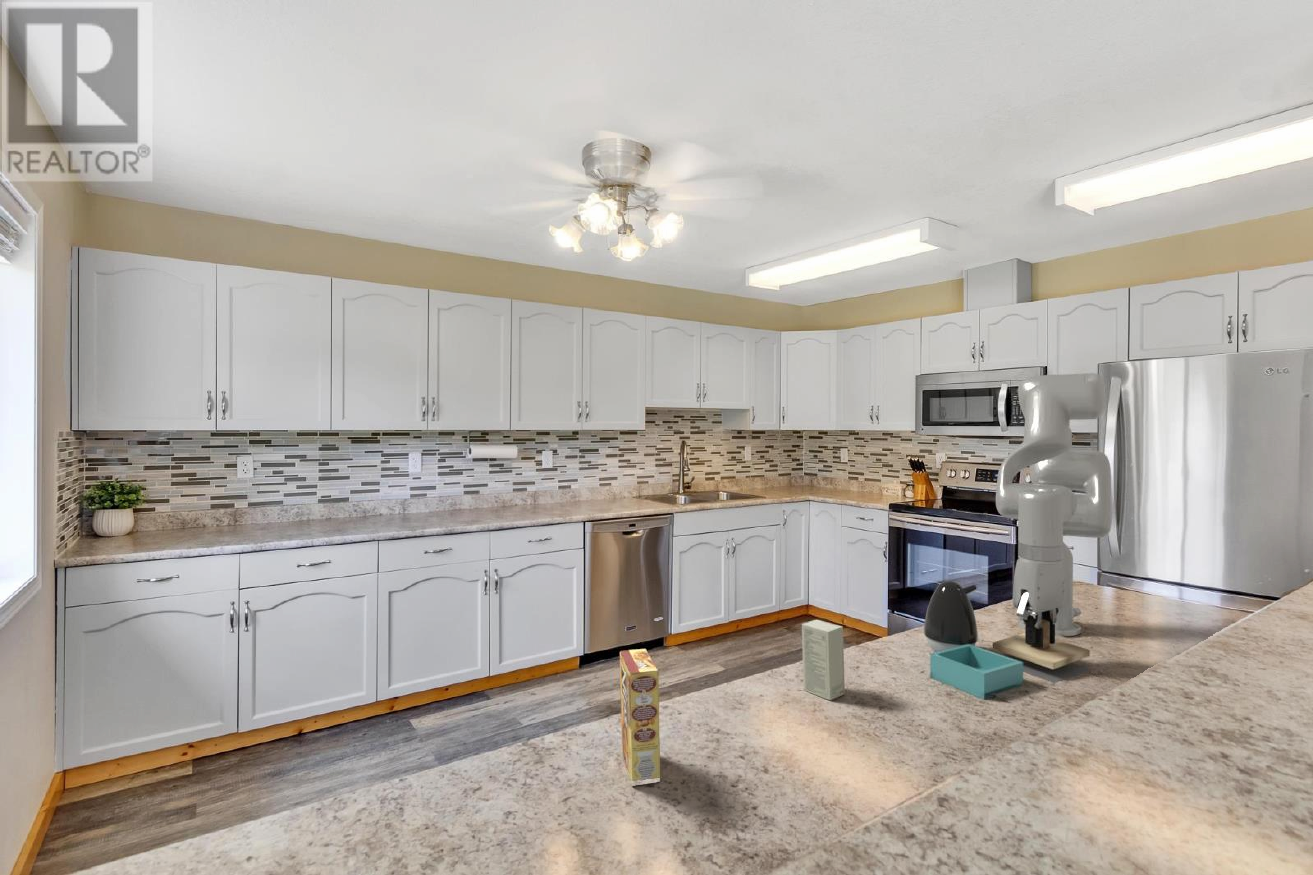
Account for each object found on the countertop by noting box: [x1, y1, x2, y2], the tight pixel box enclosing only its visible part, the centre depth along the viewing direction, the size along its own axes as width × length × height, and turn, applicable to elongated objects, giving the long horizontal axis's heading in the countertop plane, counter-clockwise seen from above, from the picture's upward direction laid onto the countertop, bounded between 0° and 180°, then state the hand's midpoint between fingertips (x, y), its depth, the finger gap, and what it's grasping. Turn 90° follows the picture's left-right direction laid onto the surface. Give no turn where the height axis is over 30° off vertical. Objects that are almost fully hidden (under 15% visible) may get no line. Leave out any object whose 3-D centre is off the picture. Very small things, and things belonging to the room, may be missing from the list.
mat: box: [1002, 653, 1094, 683], centre depth 124 cm, size 13×13×1 cm
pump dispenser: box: [923, 580, 979, 653], centre depth 131 cm, size 10×10×15 cm
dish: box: [929, 644, 1024, 700], centre depth 116 cm, size 11×11×4 cm
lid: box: [992, 619, 1091, 669], centre depth 125 cm, size 12×12×6 cm
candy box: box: [619, 648, 661, 781], centre depth 87 cm, size 9×4×15 cm, turn 13°
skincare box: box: [801, 619, 846, 701], centre depth 112 cm, size 6×4×12 cm
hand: (1040, 642), depth 125 cm, fingers closed on lid, 3 cm apart
